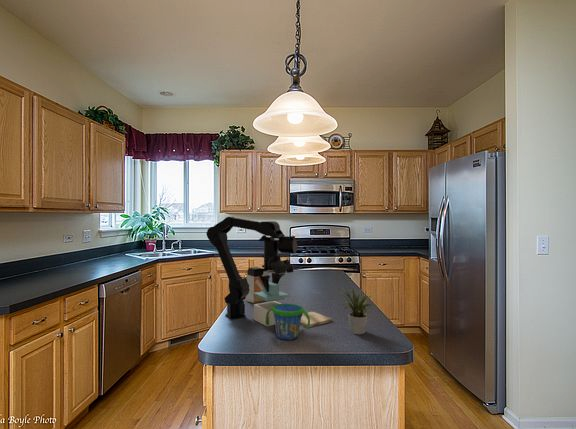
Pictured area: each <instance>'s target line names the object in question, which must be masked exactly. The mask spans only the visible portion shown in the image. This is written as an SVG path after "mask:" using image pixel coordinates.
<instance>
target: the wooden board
mask: <svg viewBox="0 0 576 429" xmlns="http://www.w3.org/2000/svg"><path fill="white" fill-rule="evenodd" d="M307 313H308V315H309V318H310V326H309V328H312V327H315V326H318V325H323V324H326V323H327V324H328V323H330V322H333V318H331V317H328V316H326V315H323V314H320V313H319V312H315V311H309V312H307ZM300 326H303V327H304V328H307V327H308V319H307V317H306V316H305V314H304V313H302V317H301V321H300Z"/></svg>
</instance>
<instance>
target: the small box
mask: <svg viewBox="0 0 576 429" xmlns="http://www.w3.org/2000/svg"><path fill="white" fill-rule="evenodd" d="M245 275H246V278H247V282H248V284H249V285H250V286H249V289H250V291H249V294H248V295H247V296H246V298H245V301H246V302H249V303H253V304H256V303H261V302H265V301H264V300H261V299H259V298H258V297H256V296H253V293H256V292H262V291H263V283H262V281H261V279H260V277H259V276H258V277H253V276H250V275H247V274H245Z"/></svg>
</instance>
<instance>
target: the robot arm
mask: <svg viewBox="0 0 576 429" xmlns="http://www.w3.org/2000/svg"><path fill="white" fill-rule="evenodd" d="M233 228H240V229H243V230H244V229H245V230H251V231H255V232H257V233H259V234H260V235H262V236H261V237H260V238H259V239H258V242H263V254H262V255H261V257H262V258H263V264H262V266H261V267H258V266H252V267H248V269H247V271H246V272H247V274H246V275H250V276H253V277H258V276H259V277H260V279H261V281H262V283H263V285H264V287H265V290H266V292H269V282H270V281H269V280H270V277H271V282H272V283H275V284H279V283H280V281H281V278H282V277H283V276H285V275H286V273H288V274H289V273H294V267H293V265H292V264H291V260H289V259H284V260H282V259H281V255H279V253H281V254H294V255H295V254H296V253H297V251H298V243H297V239H296V236H295V235H290V236H286V235H285V234H284V232H283V231H282V230H281V227H280V224H279V222H277V221H275V220H274V221H271V220H270V221H257V220H256V221H255V220H250V219H246V218H241V217H240V218H239V217H235V216H227V217H225V218H224V219H223V220H221V221H219V222H218V223H216V224H214V225H213V226H210V227H209V228H208V229H207V230H206V237H207V239H208V241H209V243H210V244H212V246H214V248H215V249H216V251H217V253H218V257H219V259H220V261H221V264H222V266H223V268H224V271H225V274H226V275H227V278H228V291H229V293H228V294H227V295H226V296H225V297H224V302H225V304H226V313H225V316H226V317H227V318H229V319H231V320H236V319H239V318H245V317H246V305H245V301H246V296H247V295H248V294H249V291H250V289H249V286H250V285H249V284H248V282H247V278H246V277H242V276H241V274H240V272H239V271H238V268H237V265H236V262H235V260H234V258H233V256H232V253H231V250H230V248H229V245H228V233H229V232H230V231H231V230H232V229H233ZM269 273H271V275H269ZM244 300H245V301H244Z"/></svg>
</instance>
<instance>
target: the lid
mask: <svg viewBox="0 0 576 429" xmlns="http://www.w3.org/2000/svg"><path fill="white" fill-rule="evenodd" d="M253 296H256V297H258V298H259V299H261V300H264V301H263V302H272V301H276V302H278V301H282V300H285V298H290V294H289V293H286V292H283V291H280V284H279V283H278V284H275V283H272V281H269V292H266V290H265V287H264V285H263V291H262V292H256V293H253Z"/></svg>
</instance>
